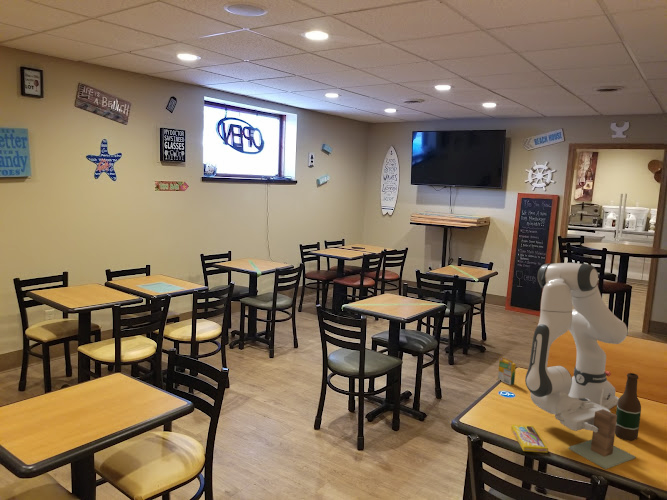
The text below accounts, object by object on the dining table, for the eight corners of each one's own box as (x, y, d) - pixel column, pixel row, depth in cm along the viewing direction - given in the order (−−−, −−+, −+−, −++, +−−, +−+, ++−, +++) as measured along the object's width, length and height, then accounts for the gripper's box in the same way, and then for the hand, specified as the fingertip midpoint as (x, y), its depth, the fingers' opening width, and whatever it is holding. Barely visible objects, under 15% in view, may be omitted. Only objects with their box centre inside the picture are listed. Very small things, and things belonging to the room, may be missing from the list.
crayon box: (514, 384, 234) (516, 359, 232) (510, 385, 232) (512, 361, 231) (501, 378, 240) (503, 355, 238) (497, 379, 238) (499, 356, 237)
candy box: (548, 447, 174) (523, 446, 174) (548, 453, 174) (523, 452, 174) (533, 424, 190) (510, 424, 190) (533, 430, 190) (510, 429, 190)
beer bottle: (609, 431, 192) (616, 370, 188) (628, 430, 192) (635, 370, 189) (622, 441, 184) (629, 378, 181) (642, 441, 185) (650, 378, 181)
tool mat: (597, 439, 185) (597, 437, 185) (635, 458, 173) (635, 456, 173) (568, 448, 178) (568, 447, 178) (605, 469, 165) (605, 467, 165)
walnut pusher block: (598, 446, 178) (603, 409, 176) (612, 453, 174) (617, 415, 172) (590, 449, 176) (595, 411, 174) (604, 456, 172) (608, 417, 170)
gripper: (552, 407, 180) (588, 424, 168) (589, 397, 189) (625, 413, 177) (551, 424, 181) (586, 442, 169) (588, 413, 190) (623, 429, 178)
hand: (606, 427), depth 173 cm, fingers open, 8 cm apart
